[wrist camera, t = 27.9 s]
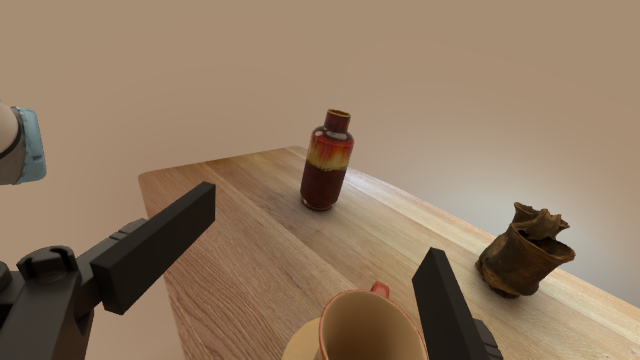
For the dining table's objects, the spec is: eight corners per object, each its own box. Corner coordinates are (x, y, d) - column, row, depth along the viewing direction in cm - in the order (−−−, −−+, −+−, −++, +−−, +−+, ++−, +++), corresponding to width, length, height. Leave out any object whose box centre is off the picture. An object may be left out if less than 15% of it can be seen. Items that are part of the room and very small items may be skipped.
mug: (374, 494, 18) (430, 448, 14) (278, 423, 21) (298, 363, 16) (393, 347, 28) (429, 292, 24) (328, 310, 31) (349, 254, 26)
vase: (339, 200, 72) (365, 115, 60) (329, 218, 62) (357, 122, 50) (306, 187, 74) (324, 104, 62) (291, 204, 64) (310, 108, 53)
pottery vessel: (519, 335, 43) (600, 257, 34) (459, 292, 49) (514, 217, 40) (527, 270, 61) (582, 208, 52) (482, 245, 67) (524, 185, 58)
